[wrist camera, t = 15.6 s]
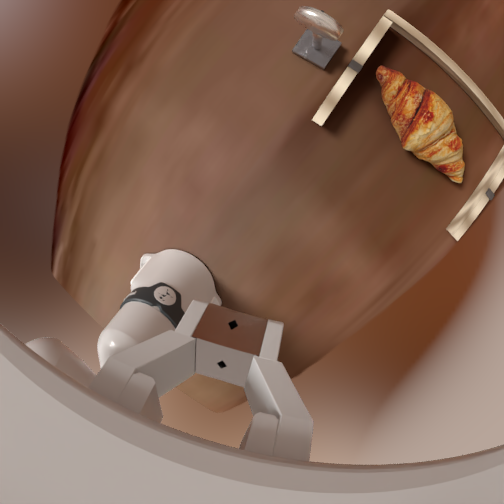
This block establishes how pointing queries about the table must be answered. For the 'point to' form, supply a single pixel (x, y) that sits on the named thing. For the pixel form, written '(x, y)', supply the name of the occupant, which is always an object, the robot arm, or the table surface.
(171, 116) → the table surface
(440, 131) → the croissant
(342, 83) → the frame
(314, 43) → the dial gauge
